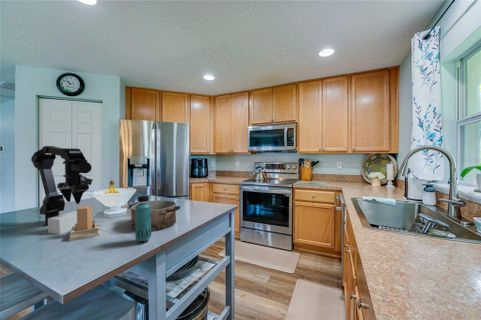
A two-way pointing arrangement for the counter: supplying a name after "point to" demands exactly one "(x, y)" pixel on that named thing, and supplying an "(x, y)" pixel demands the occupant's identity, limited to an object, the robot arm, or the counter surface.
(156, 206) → the cooking pot
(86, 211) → the block
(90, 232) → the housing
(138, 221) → the beverage bottle
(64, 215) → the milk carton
